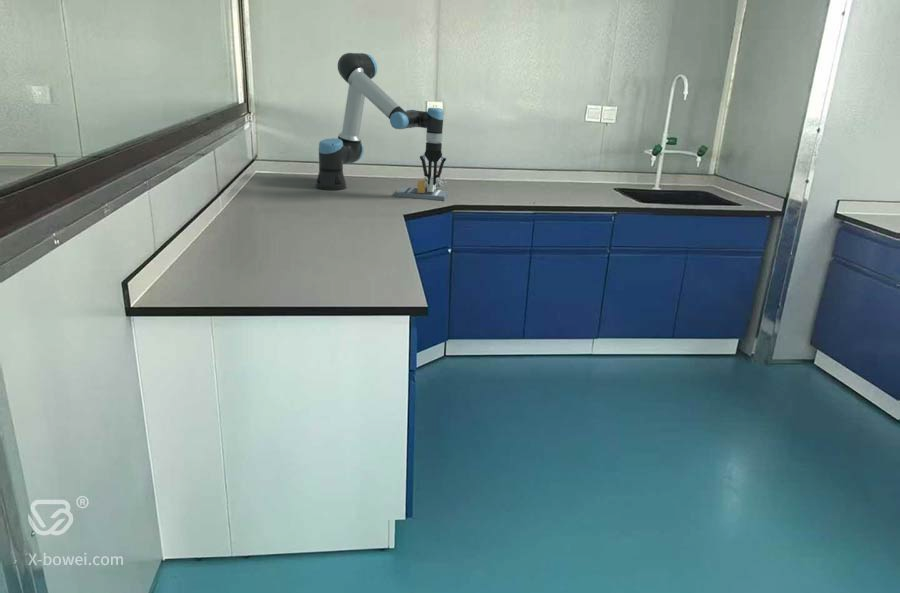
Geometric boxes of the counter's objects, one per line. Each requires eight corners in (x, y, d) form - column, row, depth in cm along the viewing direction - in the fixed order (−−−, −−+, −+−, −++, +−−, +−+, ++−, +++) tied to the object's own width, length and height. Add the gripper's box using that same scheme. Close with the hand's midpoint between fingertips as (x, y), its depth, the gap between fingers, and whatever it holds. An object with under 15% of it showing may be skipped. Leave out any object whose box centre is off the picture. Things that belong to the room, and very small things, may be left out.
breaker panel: (395, 196, 307) (396, 179, 304) (401, 190, 320) (402, 174, 317) (444, 200, 305) (445, 183, 302) (448, 194, 318) (449, 178, 315)
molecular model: (436, 194, 320) (436, 174, 316) (419, 192, 324) (418, 173, 320) (453, 186, 336) (453, 168, 332) (436, 185, 340) (436, 166, 336)
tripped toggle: (417, 192, 307) (418, 180, 304) (418, 191, 309) (419, 179, 307) (423, 193, 306) (424, 181, 304) (424, 192, 309) (425, 179, 307)
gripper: (419, 141, 296) (416, 191, 304) (446, 144, 294) (443, 194, 303) (421, 139, 303) (419, 188, 311) (448, 142, 301) (445, 191, 310)
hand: (431, 191), depth 307 cm, fingers closed
